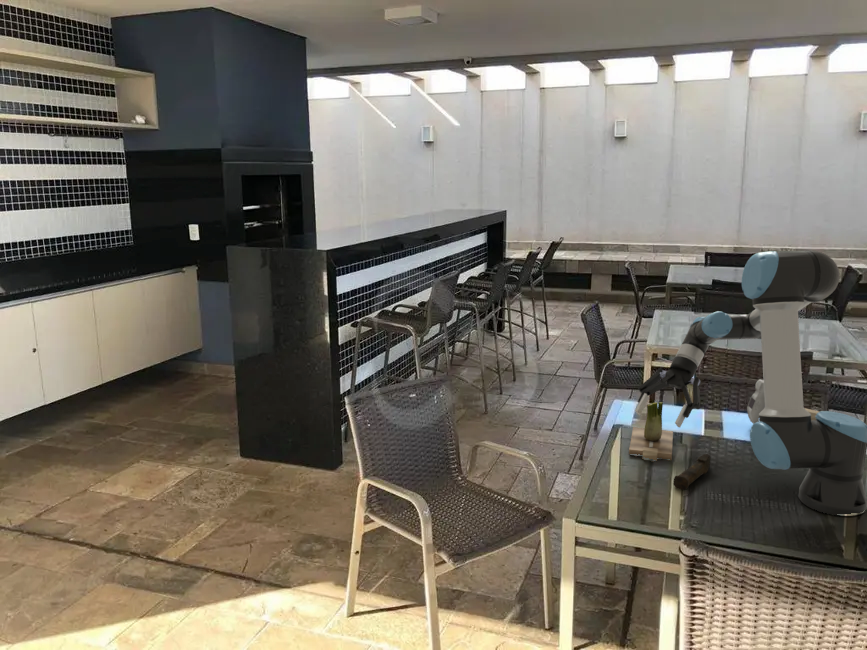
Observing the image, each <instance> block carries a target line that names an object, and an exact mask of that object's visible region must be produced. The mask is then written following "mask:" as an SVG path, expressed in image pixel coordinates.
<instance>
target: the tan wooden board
mask: <svg viewBox="0 0 867 650" xmlns="http://www.w3.org/2000/svg"><path fill="white" fill-rule="evenodd" d="M644 430H645V427H638V426H637V427H636V426H633V427H632V431H631V438H630V443H629V449H628V455H629V454H637V455H638V454H640V455H643V457H645V458H649V459H653V460H656V461H657V462H658V459H657V458H662V459H670V460H671V461H672V458H673V440H674V439H673V435H674V431H672V430H664V429H662V435H661V438H660V440H658V441H648V440H647V439H645V437H644ZM643 457H642V458H643Z"/></svg>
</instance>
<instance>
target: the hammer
mask: <svg viewBox="0 0 867 650" xmlns="http://www.w3.org/2000/svg"><path fill="white" fill-rule="evenodd" d="M754 387H755V391H754V393H753V394H751V396H750V399H749V401H748V404H747V406H746V409H747V410H746V411H747V416H748V418H749V421H750V422H751V423H752V425H753V424H754V423H756V422H759V413H760V412H761V411H762V410H763V409H764V408H765V396H764V379H758V380H757V381H756V383H755V385H754ZM804 408H805V410H807V411H808V412H809V413H810V414H811V420H816V418H815V416H816V415H817V413H818V412H820V411H817V410H814V409H810V408H806V407H804Z"/></svg>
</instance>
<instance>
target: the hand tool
mask: <svg viewBox="0 0 867 650" xmlns="http://www.w3.org/2000/svg"><path fill="white" fill-rule="evenodd" d="M710 465H711V455H710V454H709V453H704V454H702V455H700V456H698V458H697V459H696V461H695V462H694V463H693V464H692V465H690V466H689V467H688V468H686V469H685V470H684V471H683V472H682V473H681V474H679V475H675V476H674V478H673V482H672V484H673V486H674V488H675V487H676V489H678V490H681V491H686V490H687V489H688V488H689V486H690V485H691V484H693V483H694V482H695V481H696V480H697V479H698V478H700V476H702V475H706V474H707V473H708V471H709V469H710Z"/></svg>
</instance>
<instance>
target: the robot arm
mask: <svg viewBox="0 0 867 650" xmlns="http://www.w3.org/2000/svg"><path fill="white" fill-rule="evenodd" d="M840 275H841V274H840V268H839V267H838V264H837V263H836V261H835V260H834V259H833V258H832V257H830V256H829V255H828V254H825V253H824V252H820V251H819V250H770V251H769V250H768V251H760V252H756V253H755V254H753V255H751V256H750V257H749V259H748V260H747V261H746V263H745V266H744V268H743V270H742V276H741V289H742V292H743V294H744V297H746V298H747V299H750V300H752V307H753V308H754V310H752V311H750V312H749V313H748V314H746V313H745V314H728V313H726V312H723V311H719V310H717V311H715V312H711V313H710V314H708V315H707V316H698V317H696V318H694V320H693V322H692V323H691V324H690V327H689V329H688V331H687V333H686V335H685V337H684V338H683V341H682V343H681V345H680V347H679V348H678V350H677V352H676V354H675V357H674V358H673V360H672V362H671V364H670V366H669V369H668V370H663V368H661V367H659V368H658V369H657V371H656V372H655V373H654V374H653V375H651V377H649V378H648V379H646V381H644V382H643V383H642V384H641V385H639V386H638V387H637V389H638V391H639V392H640V393H641V394H640V396H639V398H638V400H637V403H638V405H637V406H636V408H635V412H636V414H637V415H638V416H641V415H642V413H643V412H644V409H645V407H647V405H648V404H647V403H648V401H649V400H650V397H649V396H651V395H652V394H655V393H656V392H658V391H660V390H662V389H664V388H668V387H670V388H676V390H677V389H678V390H680V389H681V391H682V393H683V396H684V398H685V399H684V400H685V403H686V404H683V406H682V408H681V410H680V411H679V414H678V416H677V418H676V420H675V422H674V424H675V425H676V426H677V427H678V428H681V426H682V425H683V423H684V421H685V419H687V418H689V417H690V414H691V412H692V411H693V410H694V409H695V410H700V409H701V397H700V396H701V395H700V387H701V384H702V382H701V380H700V378H699V377H698V376H695V375H696V372H697V370H698V367H699V366H700V364H701V363H702V360H703V358H704V357H705V354H706V352H707V351H708V348H709V347H710V345H711V344H713V343H715V342H716V341H721V340H724V341H725V340H727V341H728V340H729V341H730V340H756V339H757V340H760V341H761V358H762V373H763V374H762V375H763V376H762V377H763V380H764V396H765V408H764V409H763V410H762V411H761V412H760V413H759V422H756V423H754V424H753V423H752V425H751V426H750V428H751V429H750V432H749V441H750V444H751V448H752V451H753V454H754V456H755V457H756V459H757V460H758V462H759V463H760V464H761V465H763V466H764V467H765V468H767V469H770V470H785V471H786V470H791V469H793V470H794V469H808V471H807V473H806V475H805V477H804V478H803V480H802V482H801V483H800V485H799V489H798V499H799V501H800V502H801V503H802V504H804V505H805V506H806V507H808V508H810V509H811V510H814V509H815V510H814V511H816V510H817V512H819V513H822V512H823V513H822V514H825V513H827V514H826V515H829V514H833V515H832V516H834V515H837V514H851V513H860V512H863V511H864V510H865V509H866V510H867V494H866V491H865V486H864V482H863V475H864V470H865V462H866V456H867V424H866V423H865V422H864V421H862V420H860V419H859V418H857V417H854V416H852V415H848V414H846V413H842V412H841V413H840V412H836V411H830V410H822V411H819V412H818V413H817V415H816V416H815V418H816V420H811V414H810V413H809V412H808V411H807V410H805V408H806V407H804V393H803V375H802V374H803V373H802V360H801V357H802V356H801V343H800V342H801V341H800V324H799V323H800V321H799V311H801V310H803V309H804V308H805V307H808V305H810V304H811V303H819V302H822V301H824V299H826V298H828V297H829V296H830V295H831V294H833V292H834V291H836V289H837V287H838V285H839V283H840ZM694 376H695V377H694ZM690 384H692V393H693V394H692V395H693V396H692V397H693V401H692V398H691V395H690V392H689V390H688V385H690Z"/></svg>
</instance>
